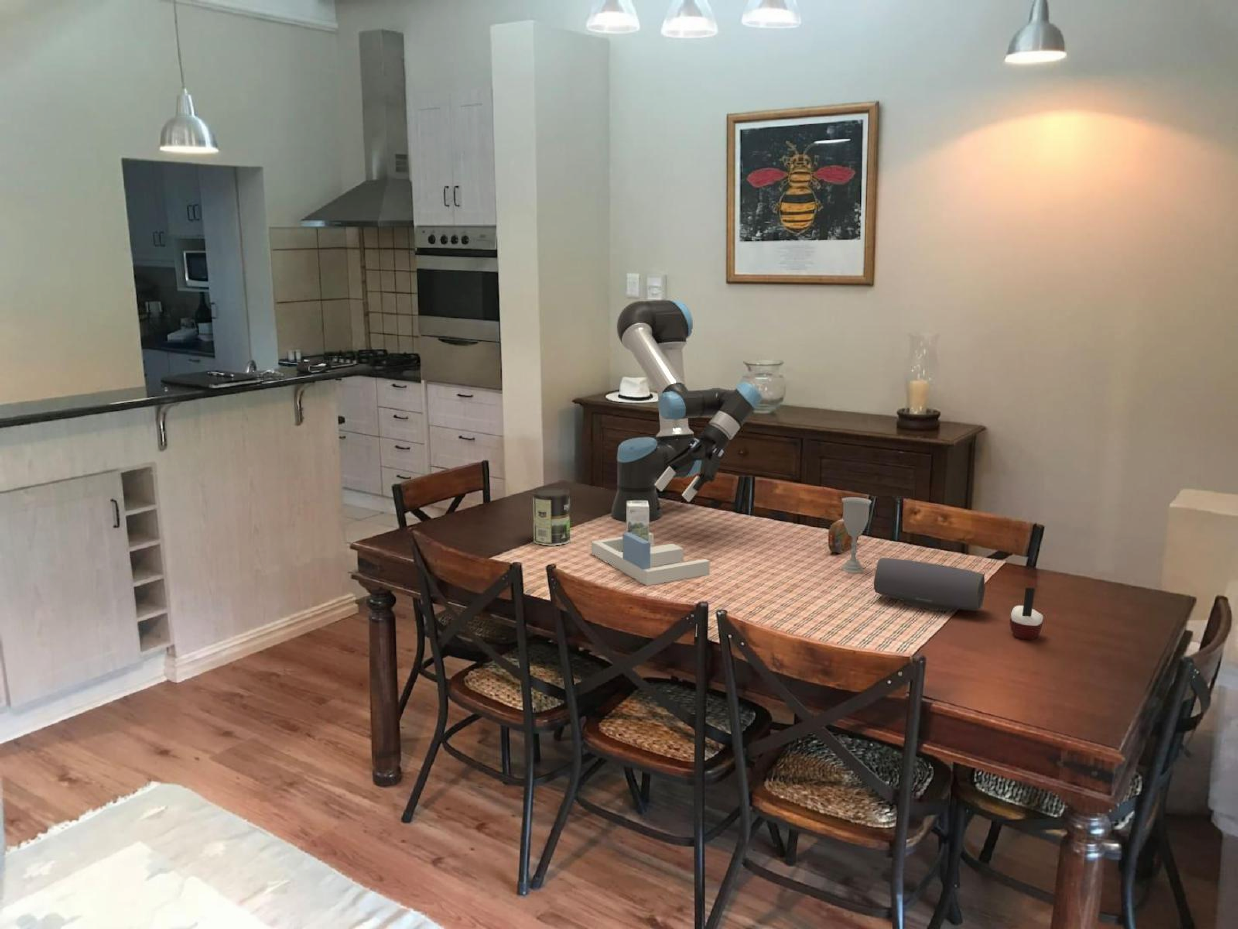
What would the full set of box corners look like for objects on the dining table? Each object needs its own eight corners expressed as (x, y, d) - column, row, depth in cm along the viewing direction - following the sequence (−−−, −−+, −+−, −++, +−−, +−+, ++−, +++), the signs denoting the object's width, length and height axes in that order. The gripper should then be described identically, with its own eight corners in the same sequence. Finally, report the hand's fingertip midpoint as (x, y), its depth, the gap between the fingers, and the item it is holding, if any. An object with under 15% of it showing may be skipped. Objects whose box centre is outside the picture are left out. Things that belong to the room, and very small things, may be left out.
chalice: (834, 571, 248) (838, 501, 244) (842, 564, 254) (845, 496, 250) (863, 575, 245) (867, 505, 241) (870, 568, 251) (874, 499, 247)
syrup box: (647, 552, 263) (647, 499, 260) (648, 559, 258) (649, 505, 255) (625, 552, 263) (626, 499, 260) (626, 559, 257) (627, 505, 254)
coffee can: (571, 536, 278) (571, 487, 275) (569, 546, 268) (568, 496, 265) (535, 535, 278) (534, 487, 276) (531, 546, 268) (530, 495, 265)
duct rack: (591, 554, 262) (591, 517, 259) (649, 544, 270) (650, 509, 268) (647, 585, 237) (647, 545, 235) (709, 574, 245) (710, 535, 243)
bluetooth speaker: (983, 609, 222) (987, 566, 220) (975, 622, 215) (979, 578, 213) (883, 591, 234) (885, 551, 232) (871, 603, 226) (874, 561, 224)
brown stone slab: (836, 557, 260) (837, 526, 259) (825, 554, 262) (826, 524, 260) (859, 544, 272) (861, 514, 270) (849, 542, 274) (850, 512, 272)
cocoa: (1017, 629, 212) (1021, 574, 210) (1047, 635, 207) (1052, 580, 206) (1000, 639, 205) (1004, 583, 203) (1030, 646, 201) (1035, 589, 199)
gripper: (755, 448, 256) (706, 512, 252) (701, 434, 278) (655, 492, 274) (738, 430, 253) (689, 494, 249) (685, 416, 274) (638, 475, 270)
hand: (671, 493), depth 261 cm, fingers open, 13 cm apart
